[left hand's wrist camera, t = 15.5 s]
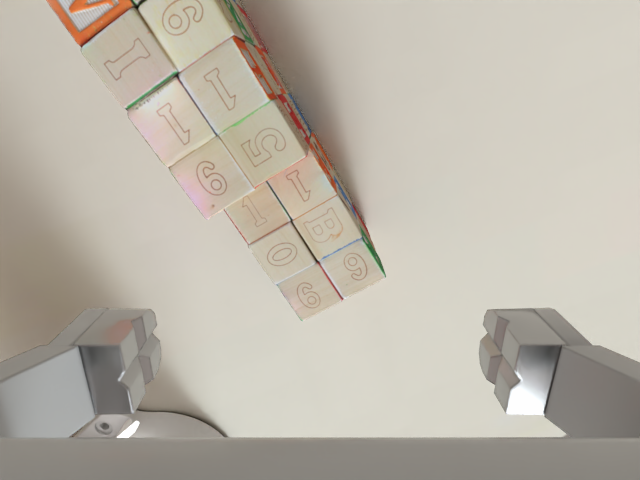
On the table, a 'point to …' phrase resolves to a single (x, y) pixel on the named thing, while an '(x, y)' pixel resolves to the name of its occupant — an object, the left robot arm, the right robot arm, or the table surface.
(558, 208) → the table surface
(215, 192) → the stack of blocks
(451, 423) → the table surface
